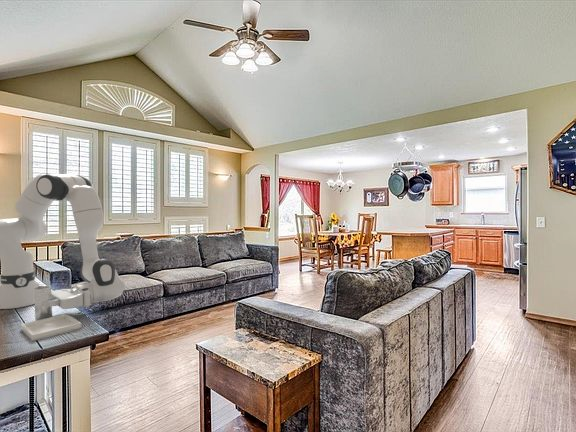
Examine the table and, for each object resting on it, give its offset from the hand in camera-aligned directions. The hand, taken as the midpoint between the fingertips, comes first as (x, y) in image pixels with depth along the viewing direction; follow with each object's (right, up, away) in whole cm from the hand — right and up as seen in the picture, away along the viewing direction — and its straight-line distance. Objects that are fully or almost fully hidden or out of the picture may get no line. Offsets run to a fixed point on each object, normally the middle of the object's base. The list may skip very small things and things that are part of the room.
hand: (40, 303), depth 123 cm
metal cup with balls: (+1, -7, +1) cm, 7 cm away
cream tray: (+9, -7, -7) cm, 14 cm away
